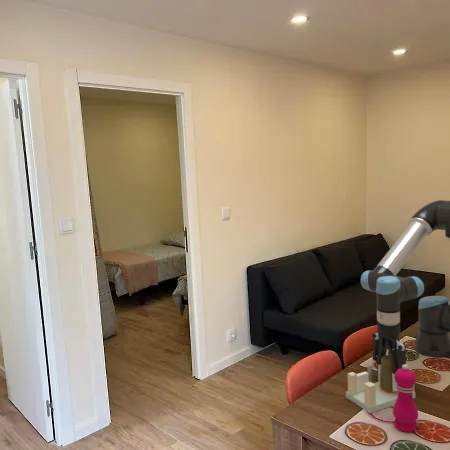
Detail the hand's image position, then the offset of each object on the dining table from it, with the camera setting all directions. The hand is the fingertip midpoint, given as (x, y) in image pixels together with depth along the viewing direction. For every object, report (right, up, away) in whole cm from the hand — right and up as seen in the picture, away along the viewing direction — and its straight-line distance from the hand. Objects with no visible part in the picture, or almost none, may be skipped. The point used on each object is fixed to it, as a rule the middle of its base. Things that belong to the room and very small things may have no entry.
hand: (389, 385), depth 156 cm
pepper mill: (-2, -6, -18) cm, 19 cm away
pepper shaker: (0, -1, 0) cm, 0 cm away
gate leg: (-10, -2, 0) cm, 11 cm away
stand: (-3, -4, -1) cm, 5 cm away
